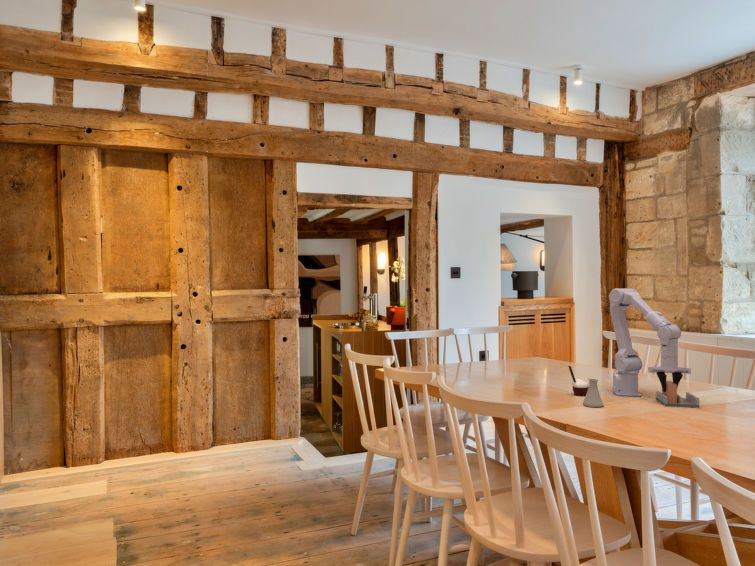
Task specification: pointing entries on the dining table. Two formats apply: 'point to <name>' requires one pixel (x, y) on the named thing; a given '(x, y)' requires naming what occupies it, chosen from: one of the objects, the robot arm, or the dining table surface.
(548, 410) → the dining table surface
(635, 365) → the robot arm
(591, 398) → the flask
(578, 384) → the cocoa
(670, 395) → the terracotta tile
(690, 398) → the dish rack
